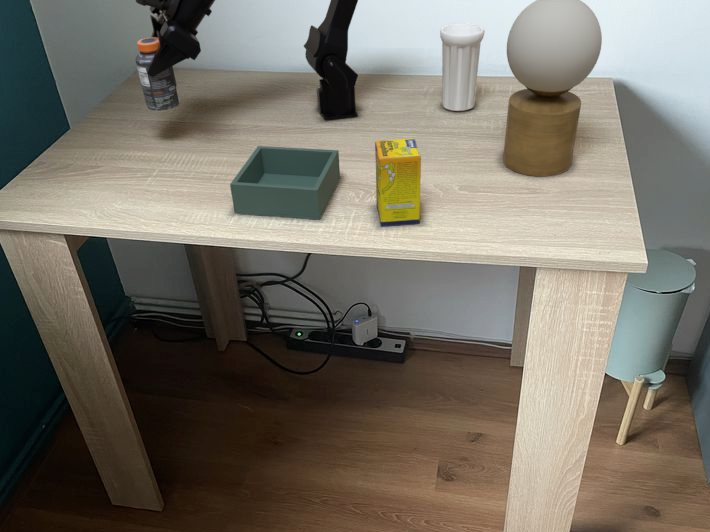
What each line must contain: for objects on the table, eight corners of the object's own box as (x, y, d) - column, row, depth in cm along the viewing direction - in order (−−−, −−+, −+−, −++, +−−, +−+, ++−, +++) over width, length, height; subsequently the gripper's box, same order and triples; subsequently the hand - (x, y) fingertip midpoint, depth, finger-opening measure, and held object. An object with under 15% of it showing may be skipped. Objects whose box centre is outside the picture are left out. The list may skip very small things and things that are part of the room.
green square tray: (261, 173, 122) (257, 145, 119) (340, 178, 120) (338, 150, 116) (234, 213, 112) (229, 184, 109) (319, 220, 110) (317, 189, 106)
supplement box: (375, 207, 112) (374, 140, 105) (414, 204, 112) (415, 137, 105) (379, 227, 107) (378, 158, 100) (420, 224, 107) (421, 154, 100)
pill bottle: (184, 98, 132) (170, 33, 124) (175, 111, 127) (161, 45, 120) (152, 99, 132) (137, 34, 125) (142, 112, 128) (126, 46, 120)
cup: (430, 110, 140) (432, 32, 131) (448, 96, 146) (451, 20, 136) (468, 117, 137) (473, 38, 128) (486, 102, 142) (492, 25, 133)
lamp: (505, 134, 131) (520, -18, 115) (586, 142, 127) (613, -14, 111) (487, 171, 120) (501, 8, 104) (576, 181, 116) (604, 14, 100)
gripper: (149, -54, 122) (101, 25, 127) (163, -30, 109) (108, 57, 113) (204, -10, 129) (156, 63, 134) (224, 18, 115) (170, 98, 120)
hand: (147, 69), depth 125 cm, fingers closed on pill bottle, 6 cm apart
